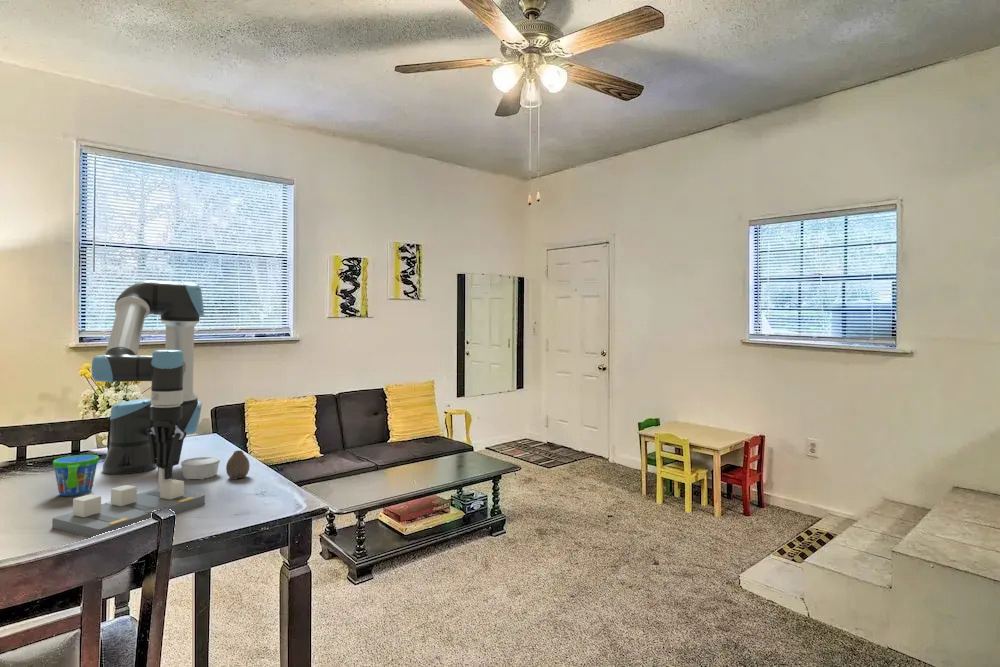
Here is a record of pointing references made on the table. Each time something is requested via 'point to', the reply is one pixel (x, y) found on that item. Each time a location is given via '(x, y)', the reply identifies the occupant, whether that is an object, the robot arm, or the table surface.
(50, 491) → the table surface
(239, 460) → the vase
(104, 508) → the switch panel
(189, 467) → the ramekin
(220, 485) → the table surface
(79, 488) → the snack cup
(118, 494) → the knob mid
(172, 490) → the knob far
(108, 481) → the table surface
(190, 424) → the robot arm
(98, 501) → the knob near
